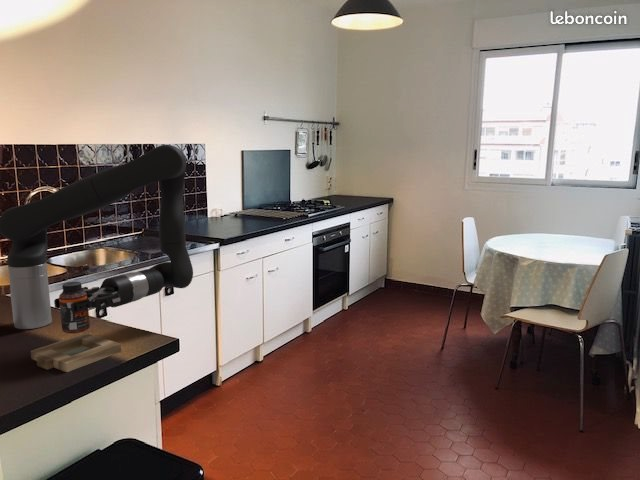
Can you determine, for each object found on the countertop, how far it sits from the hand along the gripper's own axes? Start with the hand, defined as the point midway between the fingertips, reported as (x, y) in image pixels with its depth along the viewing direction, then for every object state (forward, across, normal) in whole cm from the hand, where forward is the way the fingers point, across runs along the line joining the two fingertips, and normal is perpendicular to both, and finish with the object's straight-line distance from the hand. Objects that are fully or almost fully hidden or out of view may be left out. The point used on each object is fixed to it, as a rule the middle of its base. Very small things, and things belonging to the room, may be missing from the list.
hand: (63, 306), depth 120 cm
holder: (-2, 0, +13) cm, 13 cm away
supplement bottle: (-2, 0, +7) cm, 7 cm away
